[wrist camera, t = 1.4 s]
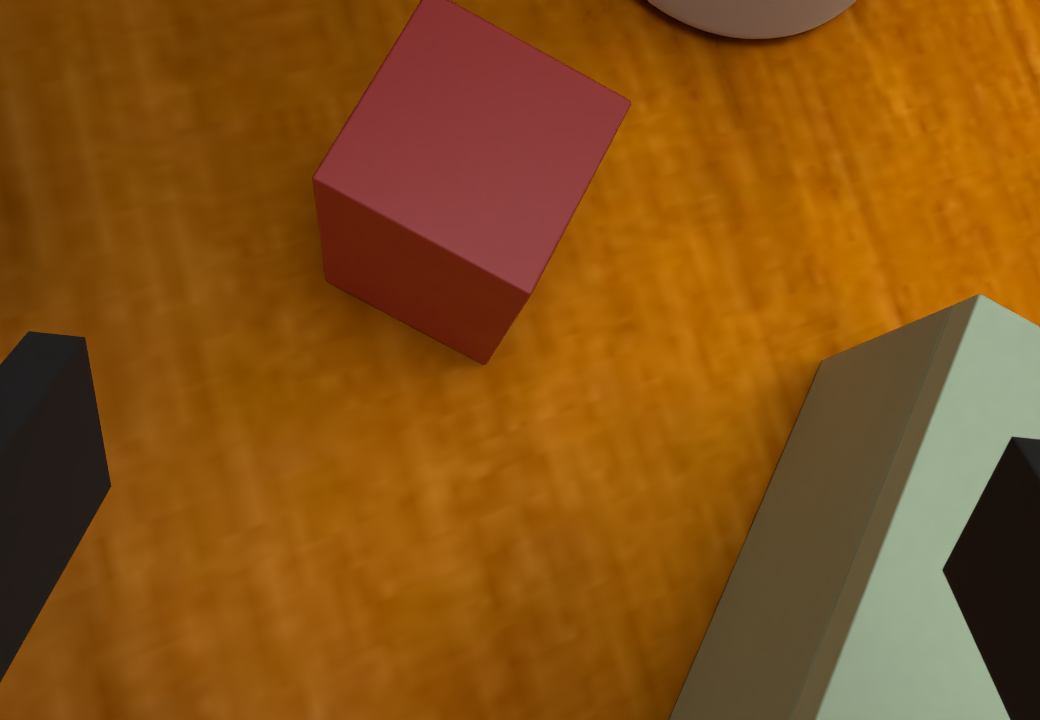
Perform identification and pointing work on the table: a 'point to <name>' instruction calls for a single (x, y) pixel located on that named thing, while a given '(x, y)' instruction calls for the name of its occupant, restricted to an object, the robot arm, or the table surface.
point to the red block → (459, 176)
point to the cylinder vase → (753, 15)
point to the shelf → (806, 530)
